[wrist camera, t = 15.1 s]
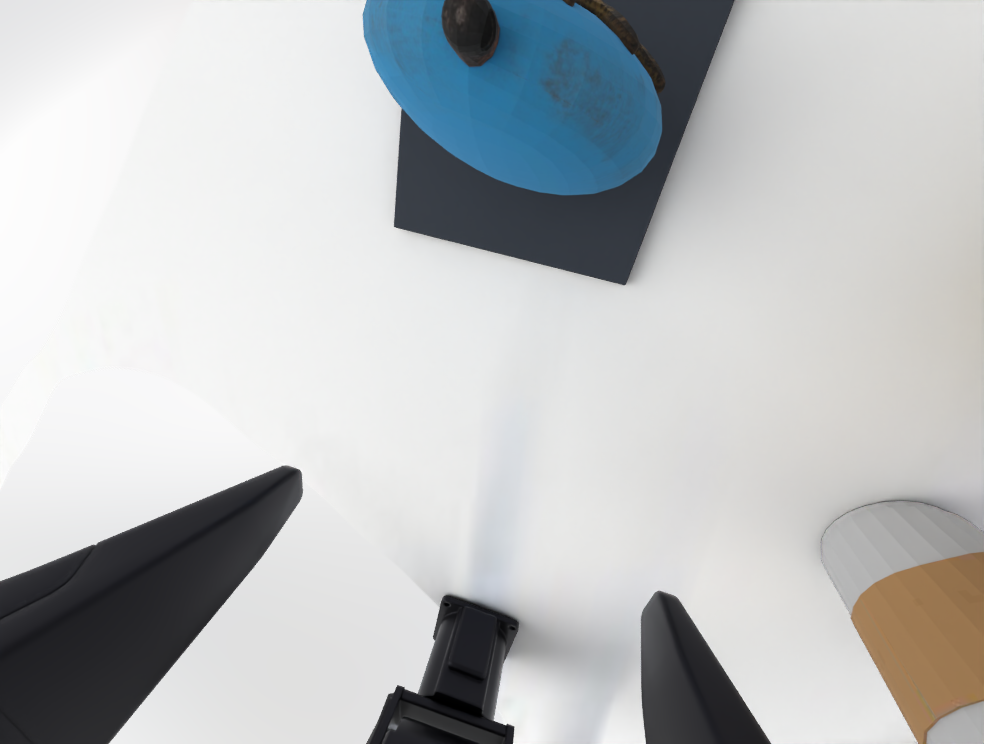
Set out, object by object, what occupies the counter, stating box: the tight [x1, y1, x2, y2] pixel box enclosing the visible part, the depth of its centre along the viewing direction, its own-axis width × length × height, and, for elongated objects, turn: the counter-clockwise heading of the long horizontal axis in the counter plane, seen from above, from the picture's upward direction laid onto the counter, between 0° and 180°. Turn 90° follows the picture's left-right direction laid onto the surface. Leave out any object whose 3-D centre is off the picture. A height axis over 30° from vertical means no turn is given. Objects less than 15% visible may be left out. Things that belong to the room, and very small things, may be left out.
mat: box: [394, 0, 734, 285], centre depth 14 cm, size 11×11×1 cm
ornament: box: [363, 0, 666, 195], centre depth 10 cm, size 8×5×10 cm, turn 69°
